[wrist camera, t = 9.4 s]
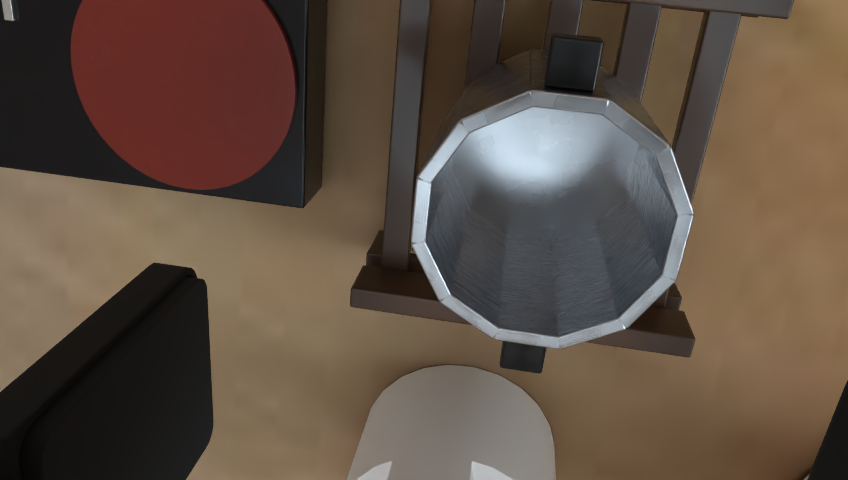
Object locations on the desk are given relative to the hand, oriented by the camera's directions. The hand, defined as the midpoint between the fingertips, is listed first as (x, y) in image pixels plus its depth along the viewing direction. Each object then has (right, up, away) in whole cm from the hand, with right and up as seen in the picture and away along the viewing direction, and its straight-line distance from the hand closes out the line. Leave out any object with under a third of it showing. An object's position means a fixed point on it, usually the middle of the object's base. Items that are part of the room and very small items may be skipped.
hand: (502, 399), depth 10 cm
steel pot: (+3, +5, +13) cm, 15 cm away
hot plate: (-10, +8, +15) cm, 19 cm away
